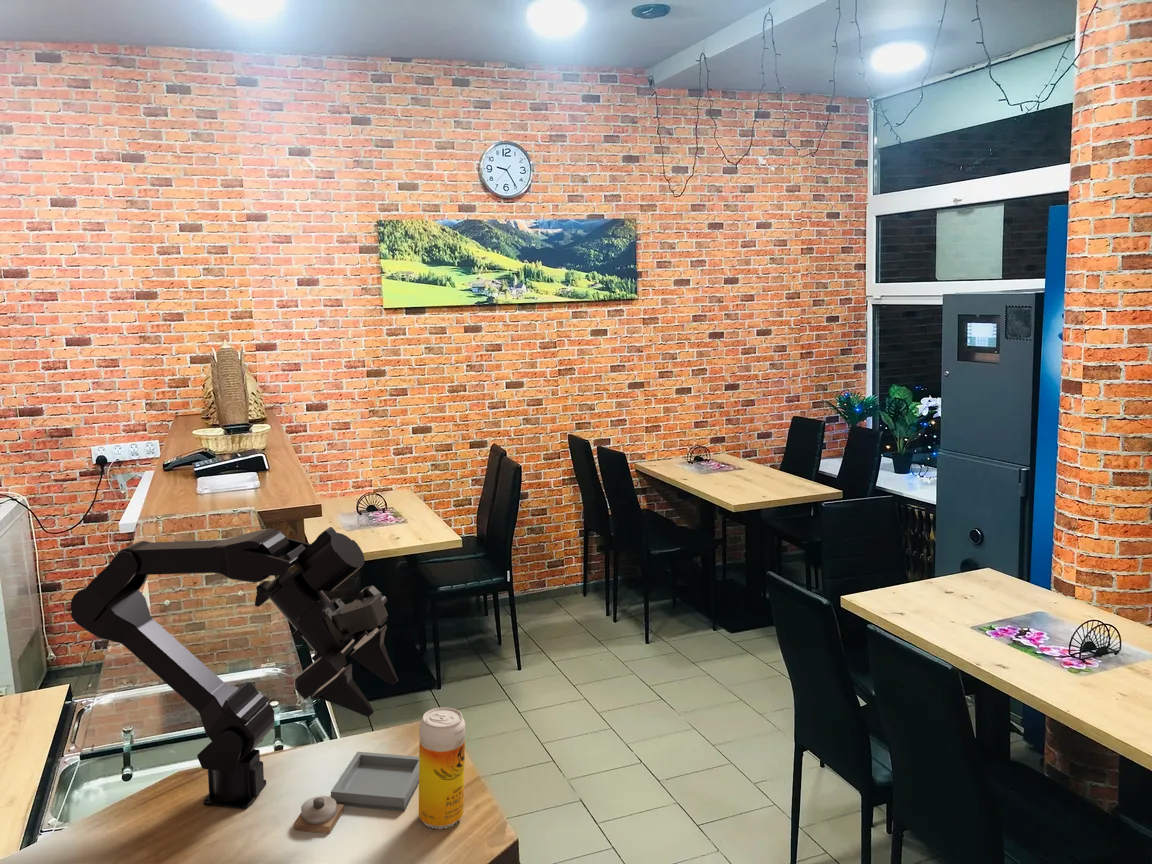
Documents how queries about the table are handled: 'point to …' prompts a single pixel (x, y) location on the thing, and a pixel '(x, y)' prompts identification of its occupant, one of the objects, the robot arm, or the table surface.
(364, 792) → the tray
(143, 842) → the table surface
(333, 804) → the desk bell
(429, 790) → the beer can
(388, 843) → the table surface
